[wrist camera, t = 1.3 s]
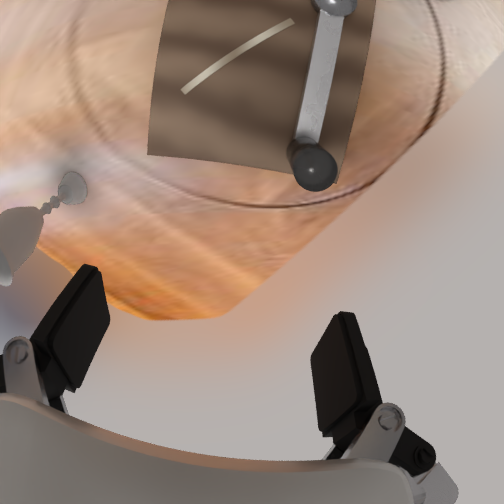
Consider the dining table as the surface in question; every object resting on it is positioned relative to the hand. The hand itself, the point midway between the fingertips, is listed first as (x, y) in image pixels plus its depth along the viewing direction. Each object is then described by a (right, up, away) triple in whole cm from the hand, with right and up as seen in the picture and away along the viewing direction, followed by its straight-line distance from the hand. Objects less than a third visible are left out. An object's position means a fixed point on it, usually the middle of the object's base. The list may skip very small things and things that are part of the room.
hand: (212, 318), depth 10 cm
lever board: (+3, +24, +13) cm, 27 cm away
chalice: (-24, +12, +22) cm, 35 cm away
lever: (+8, +21, +12) cm, 26 cm away
